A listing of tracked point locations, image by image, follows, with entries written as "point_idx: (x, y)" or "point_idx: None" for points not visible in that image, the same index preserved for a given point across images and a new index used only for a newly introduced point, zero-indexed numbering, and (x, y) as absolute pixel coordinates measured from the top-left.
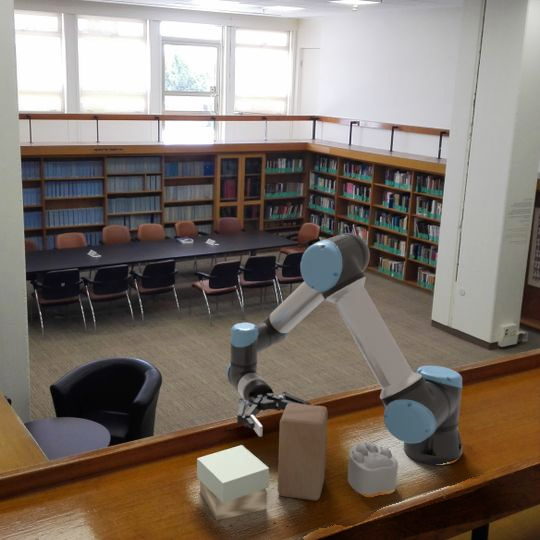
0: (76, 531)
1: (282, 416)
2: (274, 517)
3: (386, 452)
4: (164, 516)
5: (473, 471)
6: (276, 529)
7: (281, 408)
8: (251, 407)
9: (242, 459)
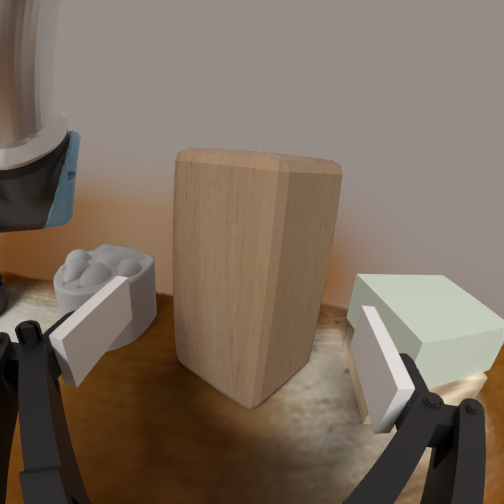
0: None
1: (332, 164)
2: (334, 329)
3: (84, 251)
4: (499, 367)
5: (3, 273)
6: (338, 313)
7: (85, 491)
8: (393, 488)
9: (415, 302)
